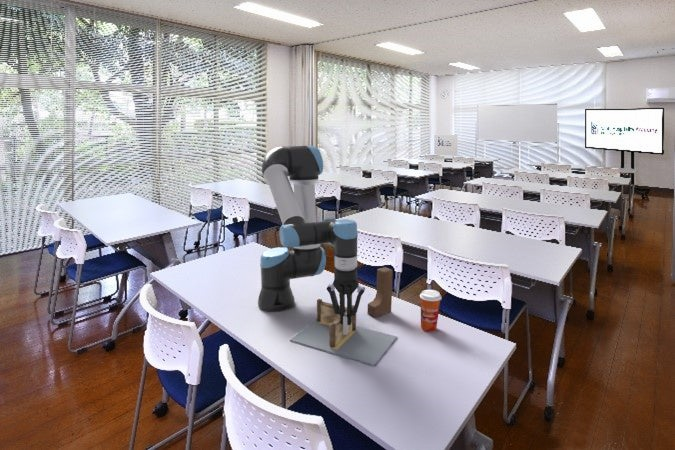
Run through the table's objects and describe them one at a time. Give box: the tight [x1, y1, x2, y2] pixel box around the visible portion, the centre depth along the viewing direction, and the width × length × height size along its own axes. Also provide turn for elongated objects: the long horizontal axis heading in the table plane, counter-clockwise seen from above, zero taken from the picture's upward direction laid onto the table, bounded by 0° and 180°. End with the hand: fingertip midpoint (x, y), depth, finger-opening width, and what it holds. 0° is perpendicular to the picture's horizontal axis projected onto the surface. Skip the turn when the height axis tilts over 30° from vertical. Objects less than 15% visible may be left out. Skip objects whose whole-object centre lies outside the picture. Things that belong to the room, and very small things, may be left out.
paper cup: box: [419, 289, 442, 333], centre depth 152 cm, size 8×8×14 cm
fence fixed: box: [316, 298, 357, 331], centre depth 154 cm, size 16×2×9 cm, turn 62°
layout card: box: [289, 318, 398, 367], centre depth 146 cm, size 32×20×1 cm, turn 62°
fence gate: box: [329, 312, 352, 347], centre depth 144 cm, size 14×2×8 cm, turn 148°
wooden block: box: [366, 266, 394, 318], centre depth 163 cm, size 9×4×18 cm, turn 125°
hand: (346, 332), depth 141 cm, fingers closed
